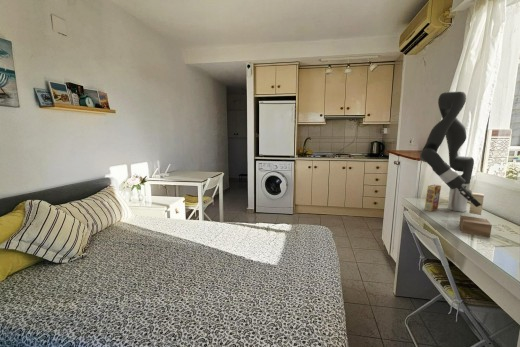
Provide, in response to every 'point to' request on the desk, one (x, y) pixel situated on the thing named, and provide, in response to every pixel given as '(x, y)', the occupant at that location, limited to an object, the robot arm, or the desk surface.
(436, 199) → the candy box
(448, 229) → the desk surface
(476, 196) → the birch block
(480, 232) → the block
